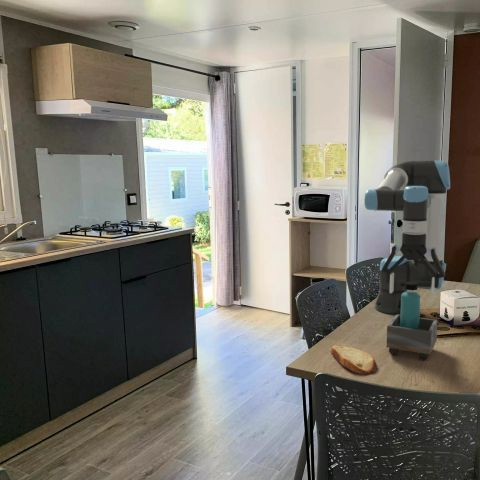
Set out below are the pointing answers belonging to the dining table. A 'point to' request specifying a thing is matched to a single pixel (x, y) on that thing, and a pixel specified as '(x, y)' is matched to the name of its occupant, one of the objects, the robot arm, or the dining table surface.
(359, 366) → the bread slice
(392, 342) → the cart
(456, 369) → the dining table surface
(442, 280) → the robot arm
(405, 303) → the beverage bottle
